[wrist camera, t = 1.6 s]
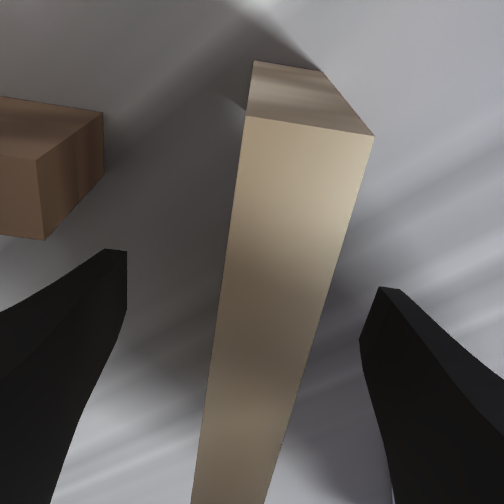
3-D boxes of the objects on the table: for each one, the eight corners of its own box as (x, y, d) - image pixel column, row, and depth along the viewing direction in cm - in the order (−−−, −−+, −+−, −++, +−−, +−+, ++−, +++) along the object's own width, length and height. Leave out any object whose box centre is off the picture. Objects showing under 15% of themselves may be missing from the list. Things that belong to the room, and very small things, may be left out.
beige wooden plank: (322, 72, 11) (374, 136, 6) (252, 388, 17) (247, 557, 12) (253, 60, 11) (245, 115, 6) (207, 383, 17) (183, 550, 12)
